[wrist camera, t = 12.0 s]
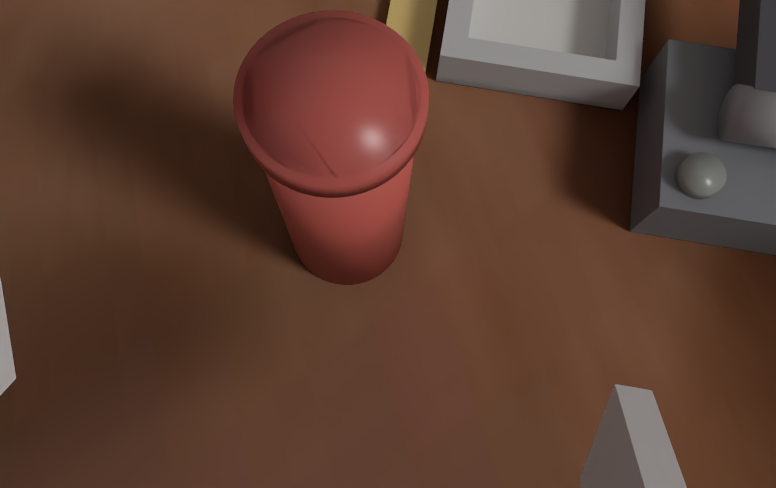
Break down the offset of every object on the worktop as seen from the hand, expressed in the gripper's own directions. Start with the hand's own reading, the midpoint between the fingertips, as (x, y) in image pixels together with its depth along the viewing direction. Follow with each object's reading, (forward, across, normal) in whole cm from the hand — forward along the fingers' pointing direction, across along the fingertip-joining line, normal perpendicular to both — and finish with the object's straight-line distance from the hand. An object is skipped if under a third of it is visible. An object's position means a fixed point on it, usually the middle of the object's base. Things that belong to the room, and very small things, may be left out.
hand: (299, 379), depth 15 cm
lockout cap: (+13, -1, -3) cm, 13 cm away
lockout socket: (+21, +5, +5) cm, 22 cm away
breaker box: (+17, +14, +1) cm, 22 cm away
